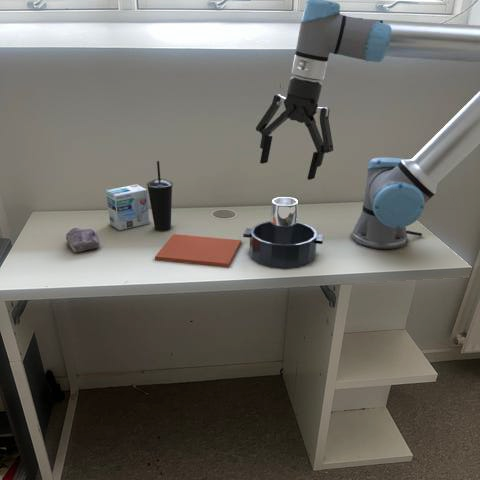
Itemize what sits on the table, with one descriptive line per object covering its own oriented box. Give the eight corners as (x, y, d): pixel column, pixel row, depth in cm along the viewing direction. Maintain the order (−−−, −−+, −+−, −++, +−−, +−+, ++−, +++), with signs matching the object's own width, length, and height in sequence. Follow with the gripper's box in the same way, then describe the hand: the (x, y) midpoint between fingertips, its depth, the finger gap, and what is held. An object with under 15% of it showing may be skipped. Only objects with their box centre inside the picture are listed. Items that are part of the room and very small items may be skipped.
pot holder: (241, 243, 144) (241, 240, 143) (228, 267, 131) (228, 263, 130) (174, 237, 147) (173, 233, 147) (155, 259, 134) (154, 256, 134)
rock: (91, 235, 147) (89, 220, 145) (103, 250, 139) (101, 234, 137) (63, 241, 144) (60, 226, 142) (73, 256, 136) (70, 240, 133)
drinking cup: (171, 233, 150) (166, 165, 139) (146, 231, 151) (140, 163, 140) (178, 224, 156) (175, 158, 145) (155, 222, 157) (149, 157, 147)
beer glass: (274, 261, 134) (276, 206, 126) (266, 250, 140) (267, 197, 132) (298, 258, 136) (302, 204, 128) (289, 248, 141) (293, 195, 133)
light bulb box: (119, 231, 151) (114, 195, 145) (109, 224, 155) (104, 190, 150) (150, 223, 157) (147, 189, 151) (140, 217, 161) (136, 183, 155)
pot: (323, 245, 143) (325, 223, 140) (318, 272, 129) (321, 248, 125) (250, 238, 147) (251, 217, 143) (238, 264, 132) (238, 241, 129)
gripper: (252, 66, 117) (237, 158, 129) (350, 92, 108) (325, 188, 119) (267, 66, 123) (252, 154, 134) (362, 90, 114) (337, 182, 125)
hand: (286, 170), depth 127 cm, fingers open, 13 cm apart
